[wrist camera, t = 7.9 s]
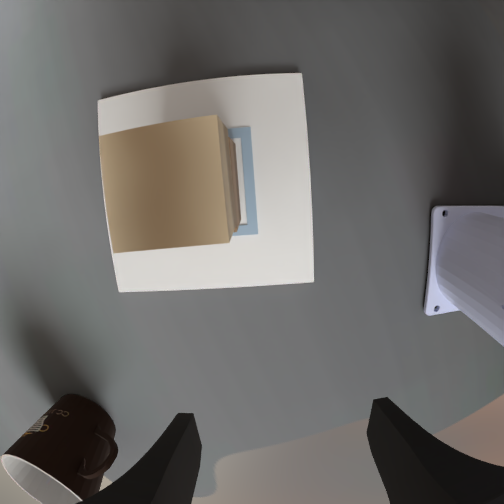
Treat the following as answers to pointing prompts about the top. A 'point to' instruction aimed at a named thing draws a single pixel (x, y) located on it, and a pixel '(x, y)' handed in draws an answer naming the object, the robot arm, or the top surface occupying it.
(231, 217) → the maple block
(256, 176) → the board
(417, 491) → the robot arm
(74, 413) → the coffee mug
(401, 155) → the top surface
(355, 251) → the top surface
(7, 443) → the top surface
